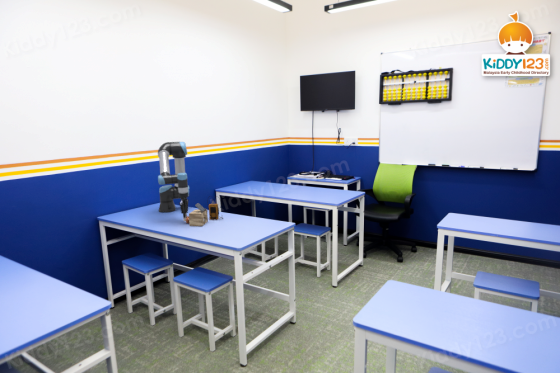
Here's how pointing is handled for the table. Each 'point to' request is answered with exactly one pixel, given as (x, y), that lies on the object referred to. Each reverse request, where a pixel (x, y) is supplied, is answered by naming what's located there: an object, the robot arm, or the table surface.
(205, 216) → the hitch block
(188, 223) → the pin
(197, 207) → the keeper flap
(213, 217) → the multimeter
